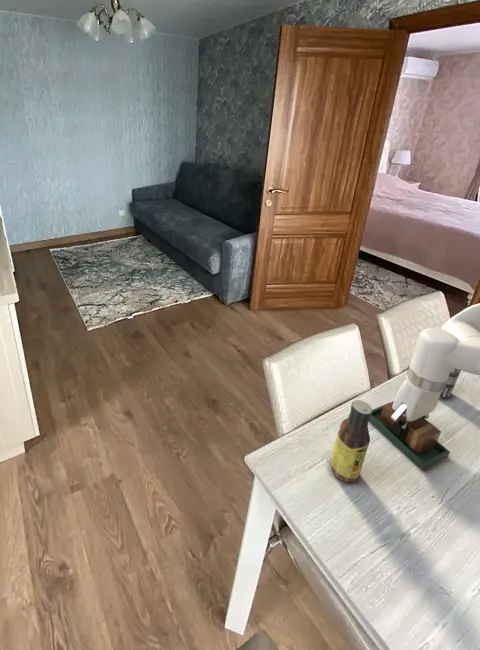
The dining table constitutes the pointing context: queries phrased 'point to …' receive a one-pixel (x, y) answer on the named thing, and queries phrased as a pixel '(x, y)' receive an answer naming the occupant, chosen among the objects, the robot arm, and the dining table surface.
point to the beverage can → (450, 383)
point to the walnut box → (413, 430)
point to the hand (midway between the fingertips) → (406, 430)
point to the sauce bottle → (352, 443)
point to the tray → (421, 459)
